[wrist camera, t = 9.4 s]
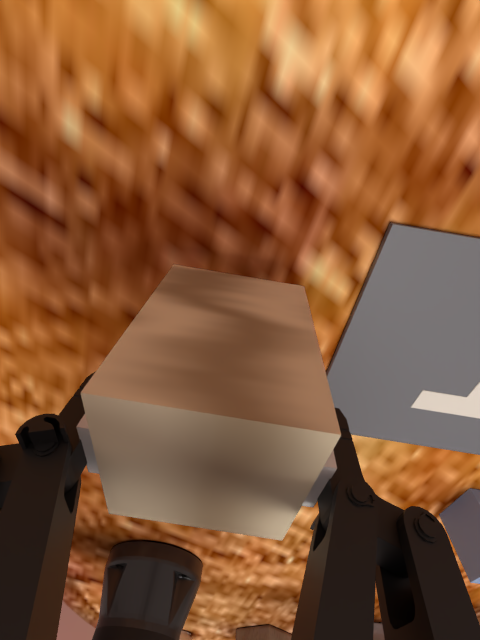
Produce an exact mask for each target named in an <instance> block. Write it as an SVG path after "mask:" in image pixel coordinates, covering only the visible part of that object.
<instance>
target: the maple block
mask: <svg viewBox="0 0 480 640" xmlns="http://www.w3.org/2000/svg"><path fill="white" fill-rule="evenodd" d="M81 397H82V402H83V406H84V410H85V414H86V419H87V423H88V427H89V431H90V436H91V440H92V444H93V448H94V453H95V457H96V461H97V465H98V470H99V474H100V478H101V482H102V487H103V491H104V495H105V499H106V504H107V508H108V512H109V514H115V515H122V516H128V517H134V518H141V519H147V520H154V521H160V522H167V523H173V524H179V525H186V526H192V527H199V528H205V529H211V530H218V531H224V532H231V533H237V534H244V535H250V536H256V537H263V538H269V539H276V540H283V538H284V536H285V534H286V533H287V531H288V529H289V527H290V526H291V524H292V522H293V520H294V518H295V517H296V515H297V513H298V511H299V510H300V508H301V506H302V504H303V502H304V501H305V499H306V497H307V495H308V493H309V492H310V490H311V488H312V486H313V485H314V483H315V481H316V479H317V477H318V476H319V474H320V472H321V470H322V469H323V467H324V465H325V463H326V461H327V460H328V458H329V456H330V454H331V453H332V451H333V449H334V447H335V445H336V444H337V442H338V440H339V438H340V436H341V432H340V428H339V424H338V420H337V416H336V412H335V408H334V404H333V400H332V396H331V392H330V388H329V384H328V380H327V376H326V372H325V368H324V364H323V360H322V356H321V352H320V348H319V344H318V340H317V336H316V332H315V328H314V324H313V320H312V316H311V312H310V308H309V304H308V300H307V296H306V292H305V288H304V286H300V285H294V284H288V283H282V282H276V281H270V280H264V279H259V278H253V277H247V276H241V275H235V274H229V273H223V272H217V271H211V270H205V269H199V268H193V267H187V266H181V265H175V264H174V265H173V266H172V267H171V269H170V270H169V271H168V273H167V274H166V276H165V277H164V278H163V280H162V281H161V283H160V284H159V285H158V287H157V288H156V289H155V291H154V292H153V294H152V295H151V296H150V298H149V299H148V300H147V302H146V303H145V305H144V306H143V307H142V309H141V310H140V311H139V313H138V314H137V316H136V317H135V318H134V320H133V321H132V322H131V324H130V325H129V327H128V328H127V329H126V331H125V332H124V333H123V335H122V336H121V338H120V339H119V340H118V342H117V343H116V344H115V346H114V347H113V349H112V350H111V351H110V353H109V354H108V356H107V357H106V358H105V360H104V361H103V362H102V364H101V365H100V367H99V368H98V369H97V371H96V372H95V373H94V375H93V376H92V378H91V379H90V380H89V382H88V383H87V384H86V386H85V387H84V389H83V390H82V391H81Z"/></svg>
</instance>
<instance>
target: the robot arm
mask: <svg viewBox="0 0 480 640" xmlns="http://www.w3.org/2000/svg"><path fill="white" fill-rule="evenodd" d="M95 372H96V371H95ZM95 372H94V373H95ZM94 373H92V374H91V375H90V376H88V377H87V378H86V379H85V381H84V382H83V383H82V385H81V386H80V388H79V389H78V390H77V391H76V393H75V394H74V396H73V397H72V398H71V399H70V401H69V402H68V403H67V405H66V406H65V407H64V409H63V410H62V411H61V413H60V414H59V415H55V414H43V415H39V416H35V417H33V418H32V419H30V420H28V421H26V422H25V423H24V424H23V425H22V426H20V428H19V429H18V431H17V432H16V434H15V435H16V437H17V439H18V441H19V444H11V445H4V446H0V640H56V637H57V632H58V625H59V619H60V613H61V606H62V600H63V594H64V588H65V582H66V575H67V569H68V563H69V557H70V550H71V544H72V538H73V532H74V525H75V519H76V513H77V507H78V500H79V494H80V488H81V473H82V471H83V470H84V468H85V466H86V464H87V468H88V472H92V473H98V474H99V470H98V465H97V461H96V457H95V453H94V448H93V444H92V440H91V436H90V431H89V427H88V423H87V419H86V414H85V410H84V406H83V402H82V397H81V391H82V390H83V389H84V387H85V386H86V384H87V383H88V382H89V380H90V379H91V378H92V376H93V375H94ZM335 412H336V416H337V420H338V424H339V428H340V432H341V436H340V438H339V440H338V442H337V444H336V445H335V447H334V449H333V451H332V453H331V454H330V456H329V458H328V460H327V461H326V463H325V465H324V467H323V469H322V470H321V472H320V474H319V476H318V477H317V479H316V481H315V483H314V485H313V486H312V488H311V490H310V492H309V493H308V495H307V497H306V499H305V501H304V502H303V504H302V506H307V507H314V505H315V504H316V502H317V501H318V506H319V514H318V515H317V517H316V519H315V520H314V522H313V523H312V525H311V528H310V529H312V530H313V529H314V532H313V536H312V541H311V546H310V551H309V556H308V560H307V565H306V570H305V575H304V580H303V584H302V589H301V594H300V599H299V604H298V608H297V613H296V618H295V623H294V628H293V632H292V637H291V640H373V631H374V604H375V581H376V587H377V594H378V600H379V606H380V613H381V619H382V625H383V632H384V638H385V640H480V625H479V622H478V619H477V617H476V614H475V611H474V608H473V605H472V603H471V600H470V597H469V594H468V592H467V589H466V586H465V583H464V580H463V578H462V575H461V572H460V569H459V566H458V564H457V561H456V558H455V555H454V553H453V550H452V547H451V544H450V541H449V539H448V536H447V534H446V532H445V530H444V528H443V526H442V525H441V523H440V522H439V521H438V520H437V519H436V517H435V516H433V515H432V514H431V513H430V512H428V511H427V510H425V509H423V508H421V507H416V506H411V507H409V508H407V509H406V510H403V509H401V508H399V507H397V506H394V505H392V504H390V503H388V502H386V501H384V500H383V499H381V498H380V497H378V496H377V495H376V494H375V493H374V491H373V489H372V488H371V487H370V486H369V485H368V484H367V483H366V482H365V480H364V478H363V475H362V472H361V468H360V465H359V461H358V458H357V454H356V451H355V447H354V444H353V441H352V437H351V433H350V432H349V426H348V422H347V419H346V417H345V416H344V415H343V413H342V412H341V410H340V409H339V408H335ZM202 568H203V566H202V563H201V562H200V560H199V559H198V558H196V557H195V556H194V555H192V554H190V553H189V552H187V551H184V550H182V549H179V548H176V547H173V546H170V545H166V544H161V543H155V542H145V541H134V542H125V543H121V544H118V545H116V546H115V547H113V548H112V550H111V552H110V555H109V558H108V561H107V563H106V567H105V572H104V581H103V589H102V598H101V606H100V614H99V620H98V624H97V627H96V630H95V633H94V636H93V639H92V640H179V639H180V635H181V631H182V629H183V626H184V624H185V621H186V619H187V616H188V614H189V611H190V609H191V606H192V604H193V601H194V599H195V596H196V594H197V591H198V588H199V586H200V582H201V575H202Z"/></svg>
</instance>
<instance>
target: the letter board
mask: <svg viewBox="0 0 480 640" xmlns="http://www.w3.org/2000/svg"><path fill="white" fill-rule="evenodd" d="M326 376H327V380H328V384H329V388H330V392H331V396H332V400H333V404H334V408H339V409H340V410H341V412H342V413H343V415H344V416H345V417H346V419H347V422H348V426H349V432H350V433H351V434H352V435H359V436H365V437H371V438H378V439H384V440H390V441H396V442H403V443H409V444H415V445H421V446H428V447H434V448H440V449H446V450H453V451H459V452H465V453H472V454H478V455H480V238H478V237H472V236H466V235H461V234H455V233H449V232H443V231H437V230H432V229H426V228H420V227H414V226H408V225H402V224H397V223H391V222H390V224H389V226H388V229H387V231H386V233H385V236H384V238H383V241H382V243H381V245H380V248H379V250H378V252H377V255H376V257H375V259H374V262H373V264H372V266H371V269H370V271H369V273H368V276H367V278H366V281H365V283H364V285H363V288H362V290H361V292H360V295H359V297H358V299H357V302H356V304H355V306H354V309H353V311H352V313H351V316H350V318H349V321H348V323H347V325H346V328H345V330H344V332H343V335H342V337H341V339H340V342H339V344H338V346H337V349H336V351H335V353H334V356H333V358H332V360H331V363H330V365H329V368H328V370H327V372H326Z"/></svg>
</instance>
